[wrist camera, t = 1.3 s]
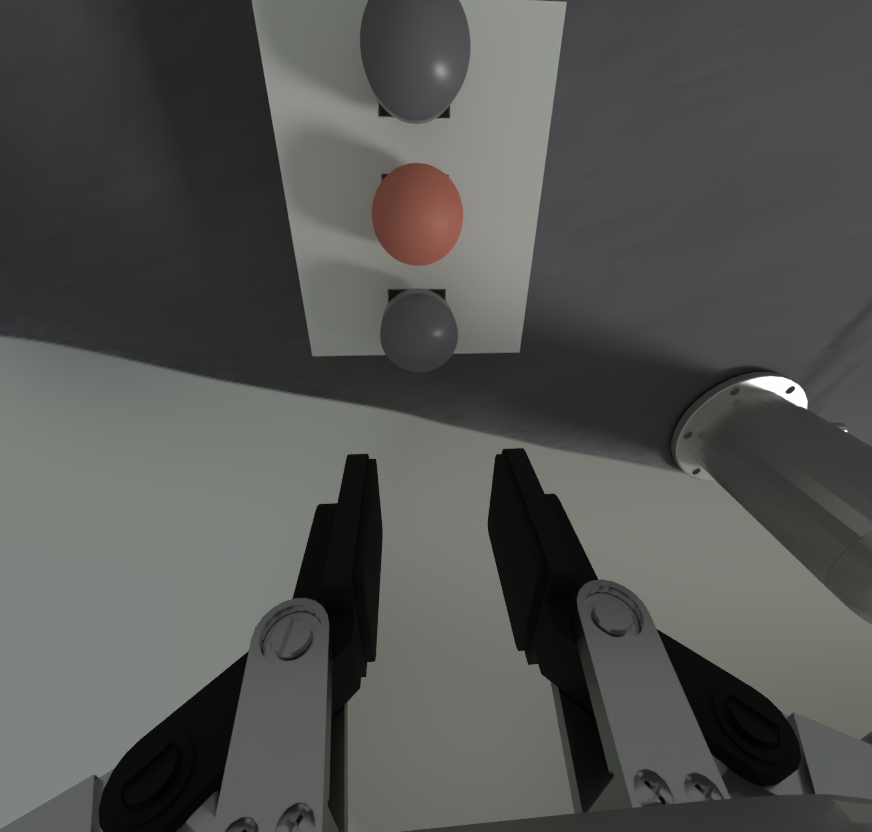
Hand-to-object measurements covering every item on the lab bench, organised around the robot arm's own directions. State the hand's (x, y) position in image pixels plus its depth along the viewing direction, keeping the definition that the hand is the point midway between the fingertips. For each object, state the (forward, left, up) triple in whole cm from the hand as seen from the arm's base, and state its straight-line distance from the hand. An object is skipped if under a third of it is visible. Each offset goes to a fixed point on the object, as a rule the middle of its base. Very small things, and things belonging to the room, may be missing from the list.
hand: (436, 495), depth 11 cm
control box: (0, -6, -22) cm, 23 cm away
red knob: (0, -6, -18) cm, 19 cm away
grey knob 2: (0, 0, -18) cm, 18 cm away
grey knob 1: (0, -12, -18) cm, 22 cm away
